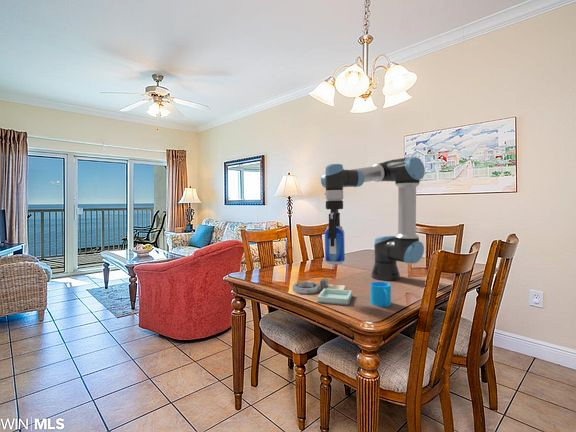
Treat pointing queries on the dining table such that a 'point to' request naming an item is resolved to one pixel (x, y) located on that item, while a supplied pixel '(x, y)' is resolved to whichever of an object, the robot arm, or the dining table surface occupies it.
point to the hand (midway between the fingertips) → (334, 251)
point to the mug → (380, 294)
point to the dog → (323, 284)
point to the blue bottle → (340, 253)
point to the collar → (298, 288)
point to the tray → (335, 296)
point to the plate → (336, 287)
